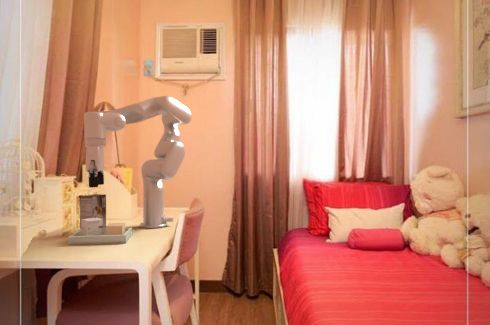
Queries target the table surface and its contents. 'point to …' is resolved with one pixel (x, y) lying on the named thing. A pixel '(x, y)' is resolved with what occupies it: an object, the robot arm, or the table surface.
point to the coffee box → (93, 207)
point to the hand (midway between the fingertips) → (96, 185)
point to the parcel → (115, 229)
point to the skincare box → (91, 227)
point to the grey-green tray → (99, 238)
